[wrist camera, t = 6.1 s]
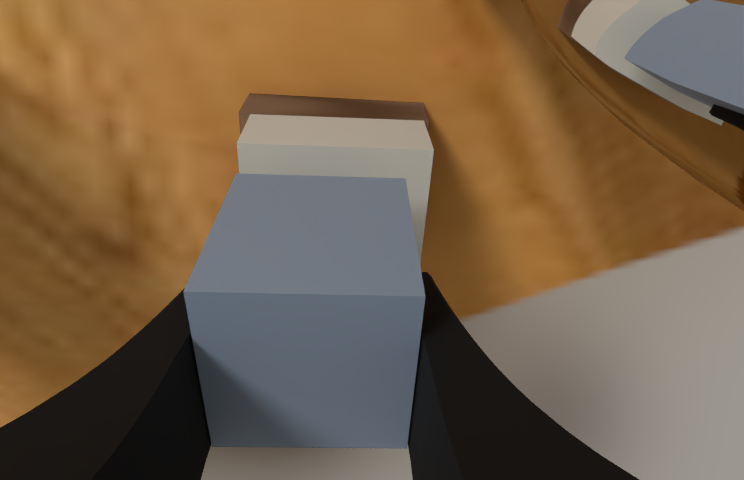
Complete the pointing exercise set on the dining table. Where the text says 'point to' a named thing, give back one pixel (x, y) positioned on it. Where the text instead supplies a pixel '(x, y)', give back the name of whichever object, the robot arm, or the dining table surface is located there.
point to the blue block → (308, 313)
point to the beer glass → (662, 75)
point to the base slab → (330, 108)
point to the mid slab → (342, 152)
